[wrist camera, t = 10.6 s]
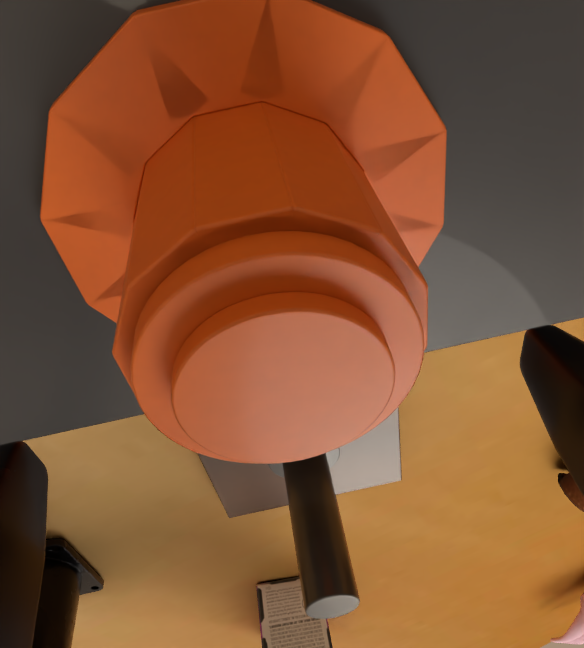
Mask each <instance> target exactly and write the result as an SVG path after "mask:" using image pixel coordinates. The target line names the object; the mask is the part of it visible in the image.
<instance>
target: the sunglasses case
mask: <svg viewBox="0 0 584 648" xmlns="http://www.w3.org/2000/svg"><path fill="white" fill-rule="evenodd" d="M558 483H559V485H560V487H561V488H562V490H563V492H564V494H565V495H566V496H567V497H568V498H569V500H570V501H571V502H572V503H573V504H574V505H575V506H576V507H578V508H579V509H580V510H582V511H583V512H584V497H583V495H582V493H581V492H580V490H579V488H578V486H577V485H576V483H575V481H574V480H573V478H572V476H571V475H570V473H568V474H565V473H559V474H558Z"/></svg>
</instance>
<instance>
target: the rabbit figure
mask: <svg viewBox="0 0 584 648" xmlns="http://www.w3.org/2000/svg"><path fill="white" fill-rule="evenodd" d="M550 641H551V642H556V643H567V644H584V593H583V594H582V596H581V609H580V612H579V614H578V615H577V616H576V618H575V620H574V622H573V623H572V625H571V626H570V628H569V629H568V631H567V632H566V633H565V634H564V635H563V636H561V637H556V638H551V639H550Z"/></svg>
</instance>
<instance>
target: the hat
mask: <svg viewBox="0 0 584 648" xmlns="http://www.w3.org/2000/svg"><path fill="white" fill-rule="evenodd" d="M446 137H447V130H446V126H445V125H444V123H443V122H442V120H441V118H440V117H439V115H438V114H437V112H436V110H435V109H434V107H433V106H432V104H431V102H430V101H429V99H428V97H427V96H426V94H425V93H424V91H423V89H422V88H421V86H420V85H419V83H418V81H417V80H416V78H415V77H414V75H413V73H412V72H411V70H410V69H409V67H408V65H407V64H406V62H405V61H404V59H403V57H402V56H401V54H400V52H399V51H398V49H397V48H396V46H395V44H394V43H393V41H392V40H391V38H390V36H388V35H387V34H386V33H385V32H384V31H383V30H381V29H379V28H377V27H374V26H372V25H369V24H367V23H365V22H362V21H360V20H357V19H355V18H353V17H350V16H348V15H345V14H343V13H341V12H338V11H336V10H334V9H331V8H329V7H326V6H324V5H322V4H319V3H317V2H314V1H312V0H180V1H176V2H171V3H167V4H162V5H158V6H153V7H149V8H144V9H140V10H137V11H136V12H133V13H132V14H131V15H130V17H129V18H128V19H127V20H126V21H125V22H124V23H123V25H122V26H121V27H120V28H119V29H118V30H117V31H116V32H115V34H114V35H113V36H112V37H111V38H110V39H109V40H108V41H107V43H106V44H105V45H104V46H103V47H102V48H101V49H100V51H99V52H98V53H97V54H96V55H95V56H94V57H93V58H92V60H91V61H90V62H89V63H88V64H87V65H86V66H85V67H84V69H83V70H82V71H81V72H80V73H79V74H78V75H77V76H76V78H75V79H74V80H73V81H72V82H71V83H70V84H69V86H68V87H67V88H66V89H65V90H64V91H63V92H62V93H61V95H60V96H59V97H58V98H57V99H56V100H55V101H54V103H53V104H52V106H51V107H50V111H49V114H48V126H47V138H46V150H45V162H44V173H43V185H42V197H41V209H40V219H41V222H42V224H43V226H44V227H45V229H46V231H47V233H48V235H49V236H50V238H51V240H52V242H53V244H54V245H55V247H56V249H57V251H58V253H59V254H60V256H61V258H62V260H63V262H64V263H65V265H66V267H67V269H68V271H69V272H70V274H71V276H72V278H73V280H74V281H75V283H76V285H77V287H78V289H79V290H80V292H81V294H82V296H83V298H84V299H85V301H86V303H87V304H88V305H89V306H91V307H92V308H94V309H95V310H97V311H98V312H100V313H102V314H103V315H105V316H106V317H108V318H109V319H111V320H112V321H114V322H116V323H117V326H116V331H115V337H114V343H113V349H112V354H113V357H114V359H115V360H116V362H117V364H118V366H119V367H120V369H121V371H122V373H123V375H124V376H125V378H126V380H127V382H128V384H129V386H130V387H131V389H132V391H133V392H134V395H135V397H136V399H137V401H138V403H139V406H140V408H141V409H142V411H143V412H144V414H145V415H146V417H147V418H148V420H149V421H150V422H151V423H152V424H153V425H154V426H155V427H156V428H157V429H158V430H159V431H160V432H162V433H163V434H164V435H165V436H167V437H168V438H169V439H171V440H173V441H174V442H176V443H177V444H179V445H181V446H183V447H185V448H187V449H189V450H191V451H194V452H196V453H199V454H202V455H205V456H208V457H212V458H216V459H220V460H225V461H232V462H239V463H255V464H259V463H261V464H272V463H286V462H293V461H299V460H304V459H308V458H311V457H315V456H318V455H321V454H324V453H327V452H329V451H331V450H334V449H337V448H339V447H341V446H343V445H346V444H348V443H350V442H352V441H354V440H356V439H357V438H359V437H361V436H363V435H364V434H366V433H367V432H369V431H370V430H372V429H374V428H375V427H376V426H378V425H379V424H380V423H381V422H383V421H384V420H385V419H386V418H387V417H388V416H390V415H391V414H392V413H393V412H394V411H395V410H396V409H397V408H398V406H399V405H400V404H401V403H402V401H403V400H404V399H405V398H406V396H407V395H408V393H409V392H410V390H411V388H412V387H413V385H414V383H415V381H416V379H417V377H418V374H419V372H420V368H421V365H422V361H423V355H424V351H425V349H426V348H427V334H428V285H427V282H426V280H425V279H424V277H423V275H422V273H421V272H420V270H419V268H418V267H419V265H420V264H421V262H422V260H423V259H424V257H425V255H426V254H427V252H428V250H429V249H430V247H431V245H432V244H433V242H434V240H435V239H436V237H437V235H438V234H439V232H440V230H441V229H442V227H443V224H444V199H445V168H446Z"/></svg>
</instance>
